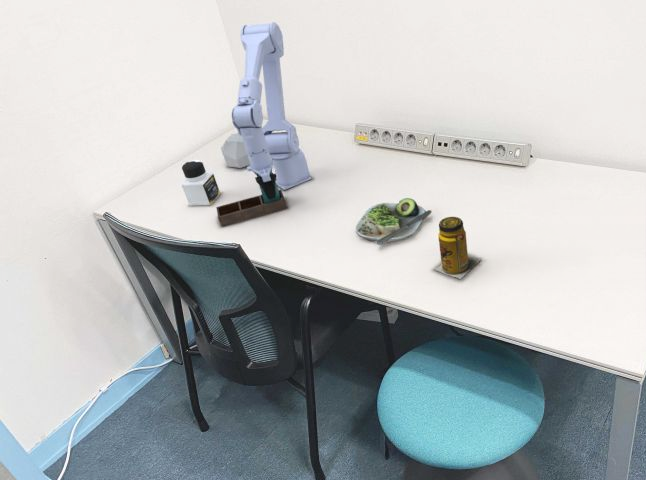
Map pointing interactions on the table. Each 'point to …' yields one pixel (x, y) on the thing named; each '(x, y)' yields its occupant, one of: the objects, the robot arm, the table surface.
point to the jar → (266, 196)
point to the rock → (235, 151)
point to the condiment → (454, 248)
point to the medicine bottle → (199, 184)
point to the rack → (248, 209)
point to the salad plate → (391, 221)
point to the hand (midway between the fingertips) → (270, 194)
